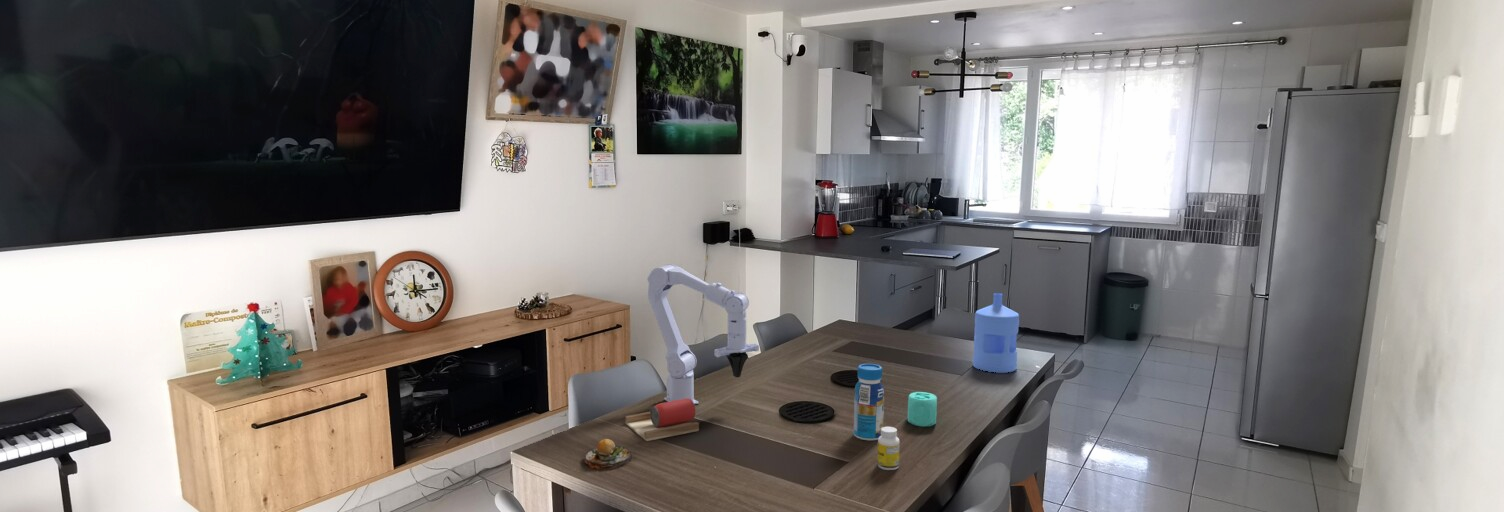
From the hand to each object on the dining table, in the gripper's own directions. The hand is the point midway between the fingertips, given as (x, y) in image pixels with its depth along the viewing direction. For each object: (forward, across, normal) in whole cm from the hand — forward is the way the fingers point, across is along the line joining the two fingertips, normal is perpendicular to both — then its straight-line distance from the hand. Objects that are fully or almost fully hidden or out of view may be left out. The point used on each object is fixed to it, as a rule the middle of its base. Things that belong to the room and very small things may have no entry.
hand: (736, 376), depth 231 cm
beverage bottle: (+11, +21, -38) cm, 45 cm away
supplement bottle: (+11, +12, -57) cm, 59 cm away
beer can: (+6, -17, -3) cm, 18 cm away
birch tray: (+10, -26, -3) cm, 29 cm away
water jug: (+11, +106, -7) cm, 107 cm away
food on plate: (+11, -48, -18) cm, 52 cm away
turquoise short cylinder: (+11, +42, -37) cm, 57 cm away
